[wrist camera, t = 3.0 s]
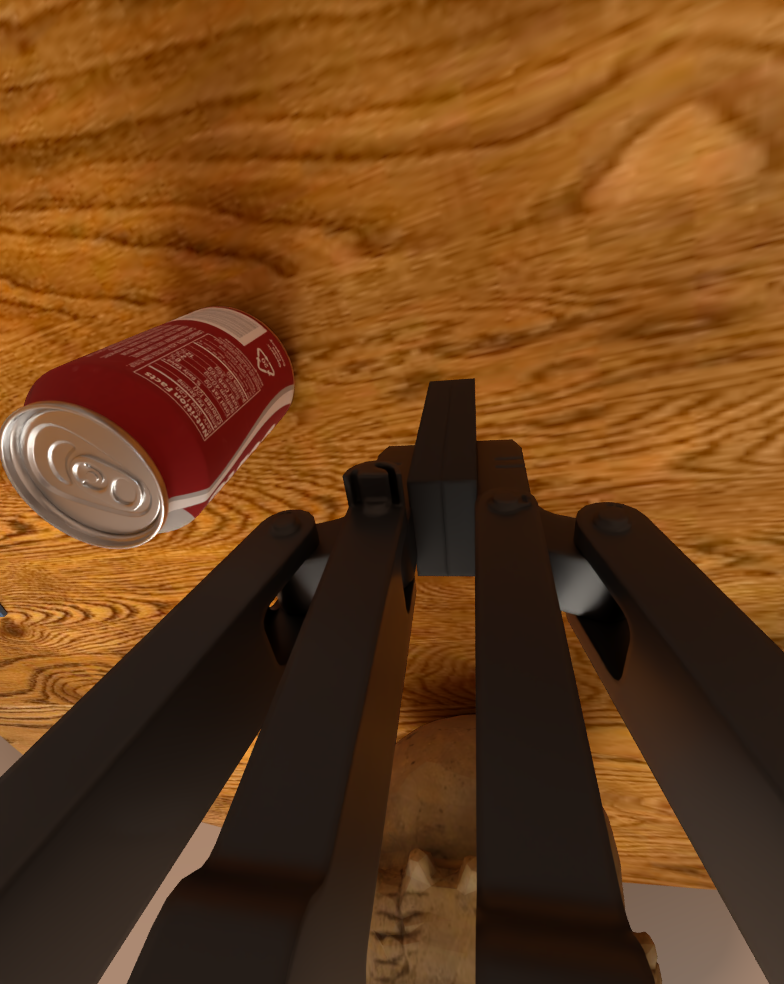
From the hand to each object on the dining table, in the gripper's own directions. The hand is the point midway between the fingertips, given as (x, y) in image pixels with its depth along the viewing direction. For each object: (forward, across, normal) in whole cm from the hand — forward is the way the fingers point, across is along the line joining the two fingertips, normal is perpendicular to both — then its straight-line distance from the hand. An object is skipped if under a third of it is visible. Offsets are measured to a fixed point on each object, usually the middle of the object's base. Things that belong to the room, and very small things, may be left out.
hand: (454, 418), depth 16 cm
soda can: (+8, -12, 0) cm, 15 cm away
